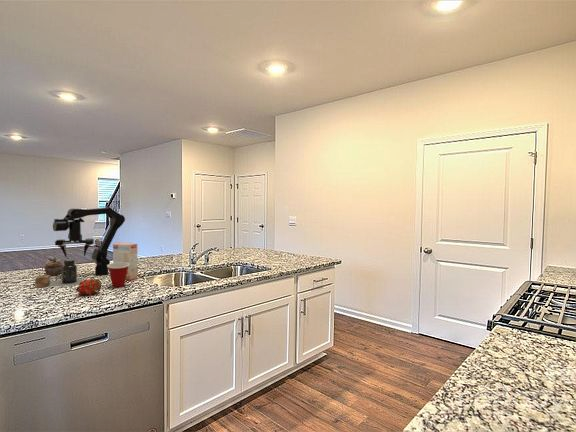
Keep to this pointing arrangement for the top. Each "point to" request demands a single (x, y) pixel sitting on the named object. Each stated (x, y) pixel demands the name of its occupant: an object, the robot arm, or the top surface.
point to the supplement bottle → (69, 272)
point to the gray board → (59, 283)
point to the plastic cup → (118, 273)
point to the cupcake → (53, 267)
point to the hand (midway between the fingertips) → (75, 256)
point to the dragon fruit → (88, 287)
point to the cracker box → (126, 257)
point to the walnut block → (42, 281)
